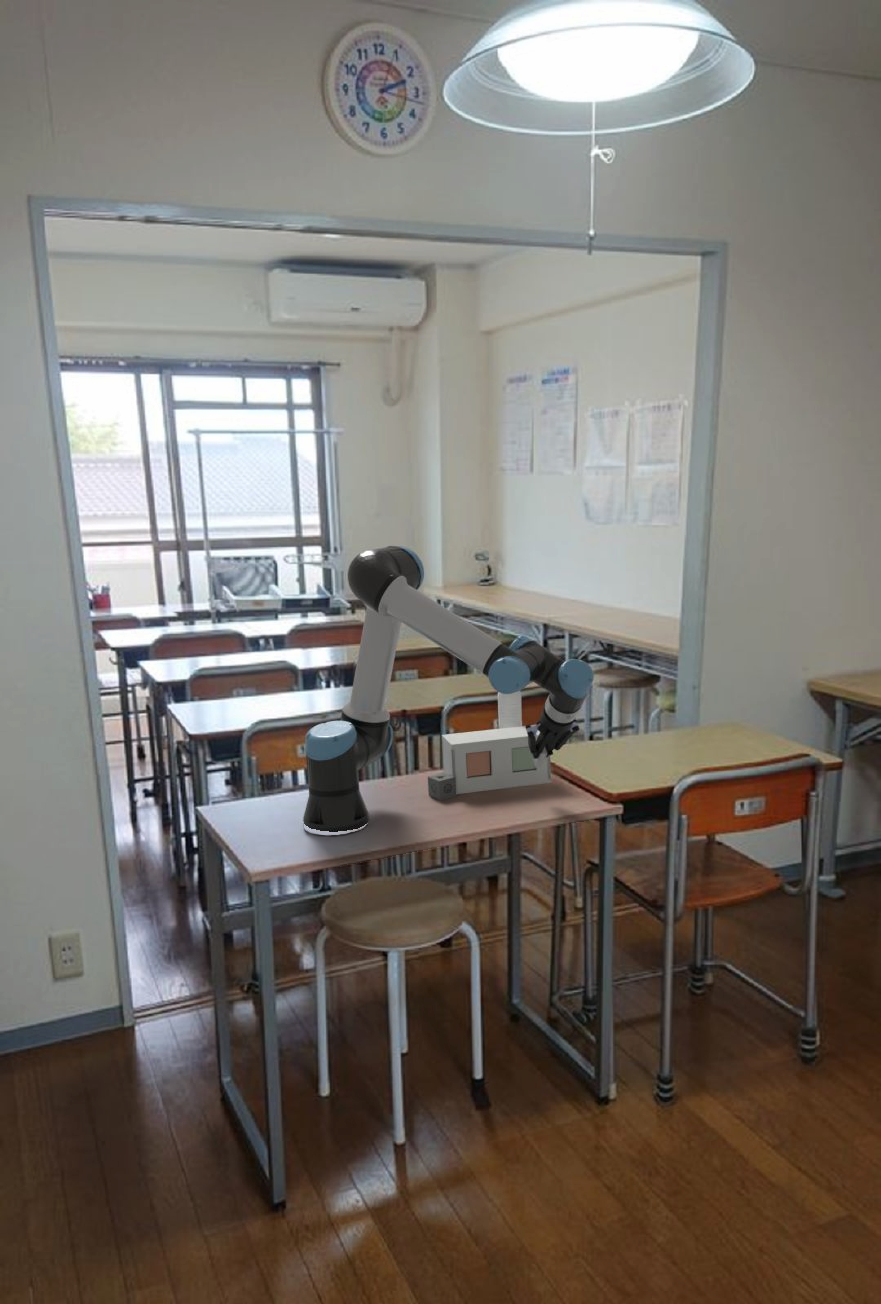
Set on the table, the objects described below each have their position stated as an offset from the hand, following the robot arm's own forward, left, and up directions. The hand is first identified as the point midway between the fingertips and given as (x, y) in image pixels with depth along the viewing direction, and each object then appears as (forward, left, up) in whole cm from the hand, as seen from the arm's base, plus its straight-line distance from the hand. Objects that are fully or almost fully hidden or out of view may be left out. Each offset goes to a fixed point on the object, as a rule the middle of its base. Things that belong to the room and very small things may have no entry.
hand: (536, 762), depth 223 cm
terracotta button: (-12, +14, -5) cm, 19 cm away
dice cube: (-22, +10, -9) cm, 26 cm away
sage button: (0, +14, -5) cm, 15 cm away
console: (-6, +15, -9) cm, 18 cm away
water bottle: (+3, +28, -9) cm, 29 cm away
